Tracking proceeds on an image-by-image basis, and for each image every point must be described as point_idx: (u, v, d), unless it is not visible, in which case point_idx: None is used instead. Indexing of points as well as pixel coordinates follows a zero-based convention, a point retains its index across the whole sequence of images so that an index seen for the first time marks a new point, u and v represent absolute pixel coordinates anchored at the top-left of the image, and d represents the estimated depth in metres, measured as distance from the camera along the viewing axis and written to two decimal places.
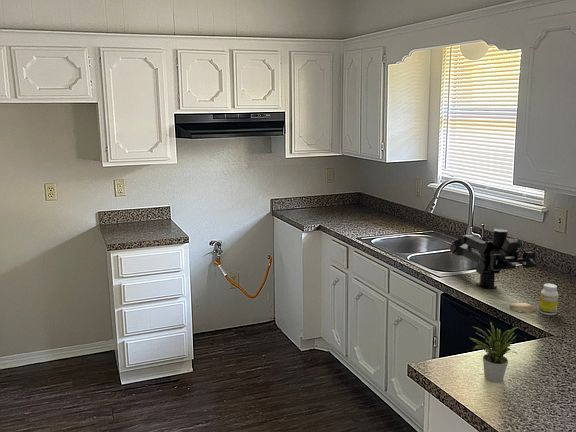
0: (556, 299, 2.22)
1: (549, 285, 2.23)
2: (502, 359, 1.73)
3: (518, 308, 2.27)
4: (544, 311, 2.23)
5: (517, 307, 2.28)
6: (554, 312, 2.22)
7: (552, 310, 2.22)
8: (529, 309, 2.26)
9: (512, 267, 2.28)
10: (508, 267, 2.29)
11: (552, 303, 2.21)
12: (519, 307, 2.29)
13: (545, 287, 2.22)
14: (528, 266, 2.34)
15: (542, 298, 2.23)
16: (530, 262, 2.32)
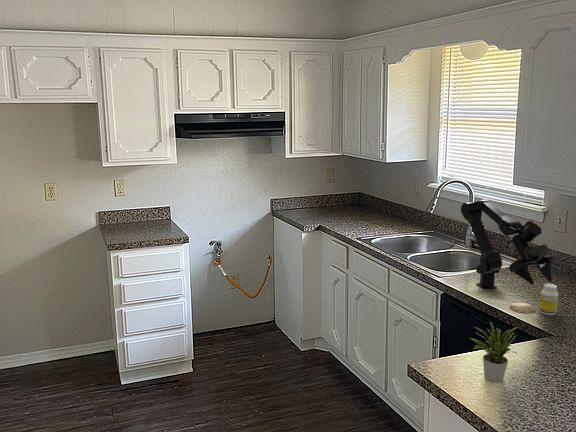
0: (556, 299, 2.22)
1: (549, 285, 2.23)
2: (502, 359, 1.73)
3: (518, 308, 2.27)
4: (544, 311, 2.23)
5: (517, 307, 2.28)
6: (554, 312, 2.22)
7: (552, 310, 2.22)
8: (529, 309, 2.26)
9: (530, 282, 2.26)
10: (526, 279, 2.27)
11: (552, 303, 2.21)
12: (519, 307, 2.29)
13: (545, 287, 2.22)
14: (542, 272, 2.32)
15: (542, 298, 2.23)
16: (547, 272, 2.30)
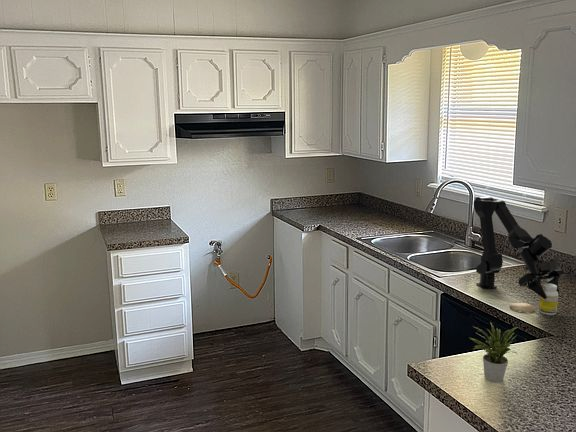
0: (556, 299, 2.22)
1: (549, 285, 2.23)
2: (502, 359, 1.73)
3: (518, 308, 2.27)
4: (544, 311, 2.23)
5: (517, 307, 2.28)
6: (554, 312, 2.22)
7: (552, 310, 2.22)
8: (529, 309, 2.26)
9: (543, 296, 2.22)
10: (538, 293, 2.23)
11: (552, 303, 2.21)
12: (519, 307, 2.29)
13: (545, 287, 2.22)
14: None
15: (542, 298, 2.23)
16: None
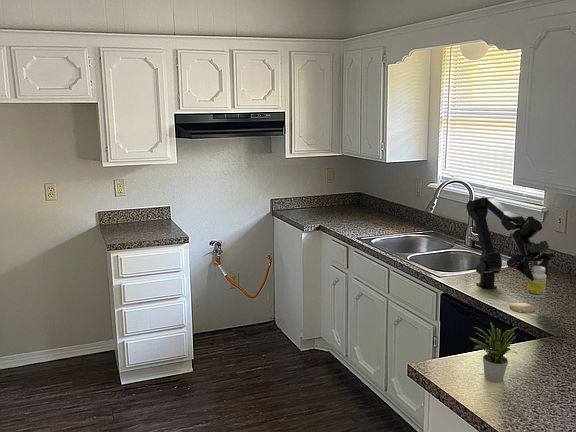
0: (544, 281, 2.22)
1: (537, 267, 2.24)
2: (502, 359, 1.73)
3: (518, 308, 2.27)
4: (531, 293, 2.24)
5: (517, 307, 2.28)
6: (541, 294, 2.23)
7: (540, 293, 2.23)
8: (529, 309, 2.26)
9: (530, 278, 2.23)
10: (526, 275, 2.24)
11: (539, 285, 2.22)
12: (519, 307, 2.29)
13: (533, 269, 2.23)
14: None
15: (530, 280, 2.24)
16: None
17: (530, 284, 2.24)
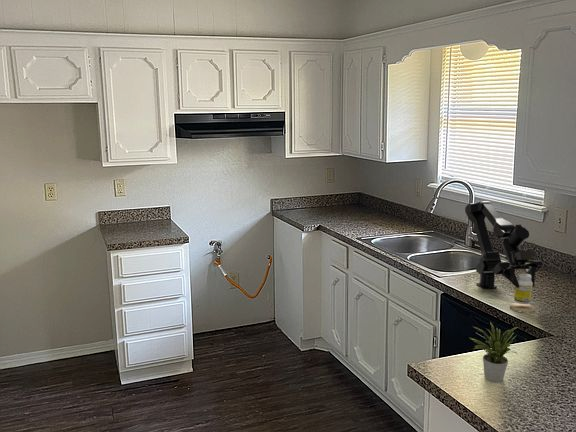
0: (529, 289, 2.25)
1: (524, 275, 2.27)
2: (502, 359, 1.73)
3: (518, 308, 2.27)
4: (517, 300, 2.27)
5: (517, 307, 2.28)
6: (527, 301, 2.26)
7: (525, 300, 2.26)
8: (529, 309, 2.26)
9: (515, 285, 2.27)
10: (512, 282, 2.28)
11: (524, 293, 2.25)
12: (519, 307, 2.29)
13: (519, 276, 2.27)
14: None
15: (516, 287, 2.28)
16: None
17: (516, 291, 2.28)
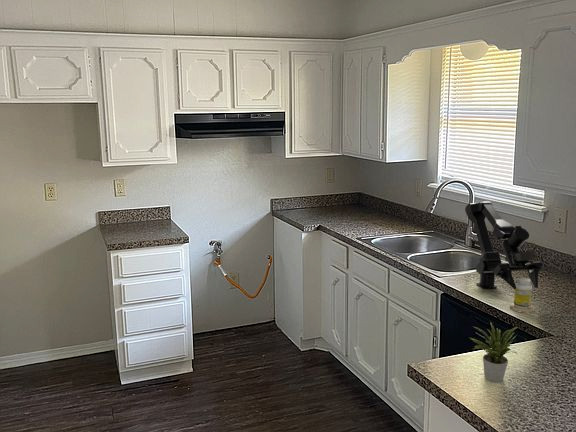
0: (529, 293, 2.25)
1: (523, 279, 2.27)
2: (502, 359, 1.73)
3: (518, 308, 2.27)
4: (517, 304, 2.28)
5: (517, 307, 2.28)
6: (527, 306, 2.26)
7: (525, 304, 2.26)
8: (529, 309, 2.26)
9: (512, 286, 2.26)
10: (509, 283, 2.27)
11: (524, 297, 2.26)
12: None
13: (518, 281, 2.27)
14: (530, 278, 2.31)
15: (515, 291, 2.28)
16: (534, 278, 2.29)
17: (516, 295, 2.28)
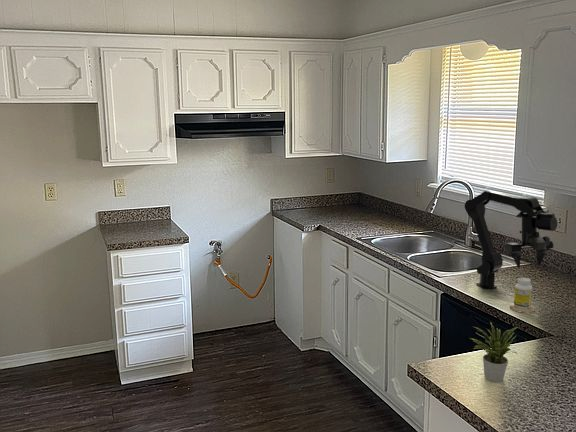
0: (529, 293, 2.25)
1: (523, 279, 2.27)
2: (502, 359, 1.73)
3: (518, 308, 2.27)
4: (517, 304, 2.28)
5: (517, 307, 2.28)
6: (527, 306, 2.26)
7: (525, 304, 2.26)
8: (529, 309, 2.26)
9: (517, 265, 2.38)
10: (515, 260, 2.38)
11: (524, 297, 2.26)
12: None
13: (518, 281, 2.27)
14: (537, 252, 2.41)
15: (515, 291, 2.28)
16: (539, 256, 2.39)
17: (516, 295, 2.28)
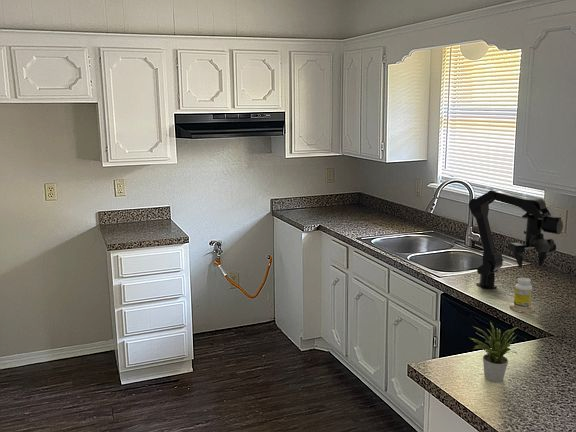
0: (529, 293, 2.25)
1: (523, 279, 2.27)
2: (502, 359, 1.73)
3: (518, 308, 2.27)
4: (517, 304, 2.28)
5: (517, 307, 2.28)
6: (527, 306, 2.26)
7: (525, 304, 2.26)
8: (529, 309, 2.26)
9: (519, 265, 2.39)
10: (517, 260, 2.39)
11: (524, 297, 2.26)
12: None
13: (518, 281, 2.27)
14: (539, 253, 2.41)
15: (515, 291, 2.28)
16: (541, 257, 2.40)
17: (516, 295, 2.28)
